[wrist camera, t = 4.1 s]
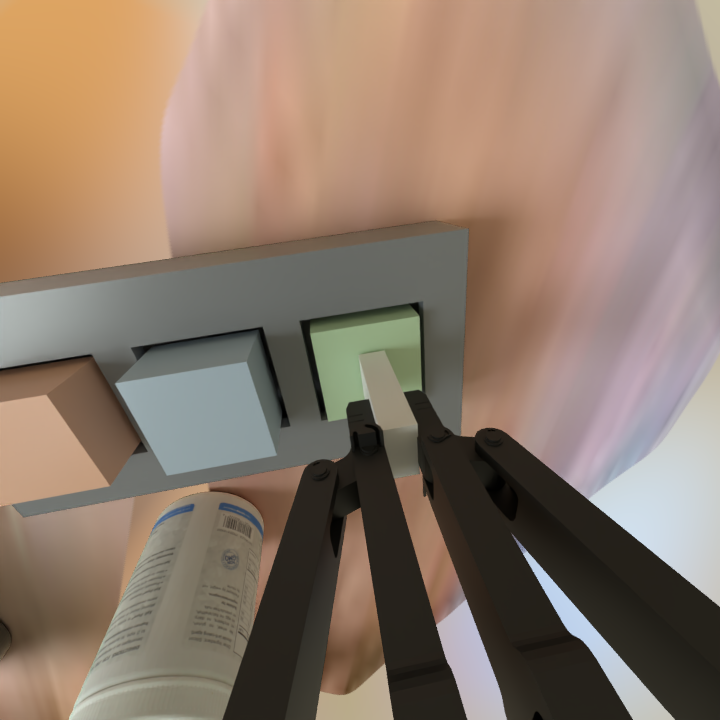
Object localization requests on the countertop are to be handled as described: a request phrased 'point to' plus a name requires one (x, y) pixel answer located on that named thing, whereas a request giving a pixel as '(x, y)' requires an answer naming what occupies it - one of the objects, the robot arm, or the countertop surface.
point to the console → (241, 314)
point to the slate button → (205, 402)
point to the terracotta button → (60, 431)
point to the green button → (364, 351)
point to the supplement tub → (181, 616)
